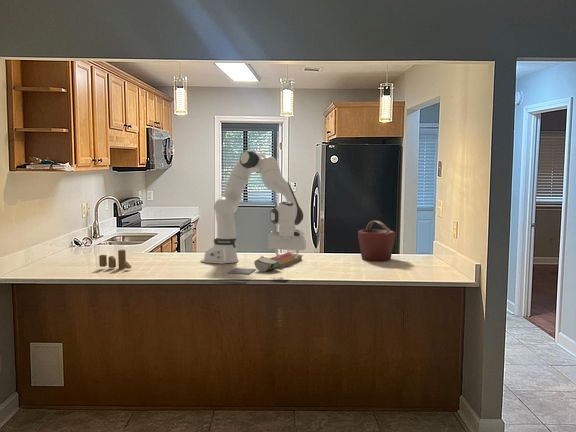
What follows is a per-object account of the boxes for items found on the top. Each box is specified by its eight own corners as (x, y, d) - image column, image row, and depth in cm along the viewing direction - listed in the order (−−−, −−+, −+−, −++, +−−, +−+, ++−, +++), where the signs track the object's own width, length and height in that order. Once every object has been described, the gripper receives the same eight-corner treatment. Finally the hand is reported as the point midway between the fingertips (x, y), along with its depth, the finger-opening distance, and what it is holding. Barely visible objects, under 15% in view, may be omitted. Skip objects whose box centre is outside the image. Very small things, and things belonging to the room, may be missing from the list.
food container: (270, 276, 297) (280, 271, 305) (270, 265, 296) (280, 260, 304) (251, 271, 303) (261, 265, 312) (252, 260, 302) (262, 255, 310)
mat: (227, 273, 294) (227, 272, 294) (234, 269, 308) (234, 268, 308) (248, 274, 292) (248, 273, 292) (255, 270, 305) (255, 268, 305)
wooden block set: (98, 270, 301) (97, 252, 300) (104, 266, 310) (104, 248, 308) (129, 271, 300) (129, 253, 298) (135, 267, 308) (135, 249, 306)
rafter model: (281, 270, 308) (281, 259, 308) (257, 268, 313) (258, 257, 313) (303, 261, 340) (303, 251, 340) (282, 259, 346) (282, 250, 345)
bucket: (398, 264, 329) (399, 222, 327) (361, 264, 327) (362, 222, 325) (387, 258, 353) (388, 219, 351) (353, 258, 352) (354, 219, 350)
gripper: (266, 232, 292) (266, 258, 293) (304, 233, 288) (304, 259, 289) (269, 231, 298) (269, 256, 299) (306, 232, 294) (306, 257, 295)
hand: (286, 258), depth 294 cm, fingers open, 8 cm apart
